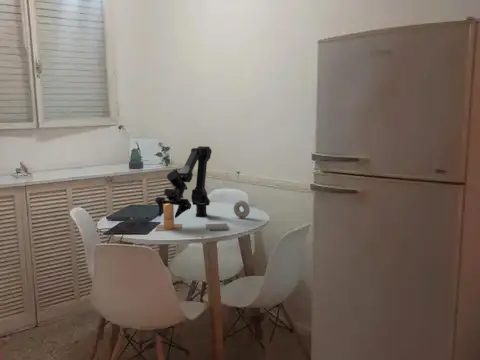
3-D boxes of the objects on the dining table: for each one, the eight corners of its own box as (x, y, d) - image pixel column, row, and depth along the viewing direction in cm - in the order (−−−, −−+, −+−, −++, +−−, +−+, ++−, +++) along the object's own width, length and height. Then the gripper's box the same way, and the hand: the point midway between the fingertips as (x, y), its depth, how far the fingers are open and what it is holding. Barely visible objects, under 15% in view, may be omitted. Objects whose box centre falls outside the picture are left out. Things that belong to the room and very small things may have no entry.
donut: (232, 217, 276) (232, 200, 274) (235, 216, 279) (235, 198, 277) (247, 219, 270) (247, 201, 269) (251, 218, 273) (250, 200, 272)
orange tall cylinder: (164, 226, 253) (163, 203, 251) (174, 226, 254) (173, 203, 252) (163, 228, 248) (163, 205, 246) (174, 228, 249) (173, 205, 247)
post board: (157, 226, 257) (156, 218, 256) (182, 225, 258) (182, 217, 257) (155, 233, 244) (155, 224, 243) (182, 232, 245) (181, 223, 245)
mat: (205, 226, 257) (205, 224, 257) (226, 225, 258) (226, 223, 258) (206, 231, 246) (206, 229, 246) (228, 230, 248) (228, 228, 247)
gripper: (156, 181, 255) (144, 206, 246) (187, 183, 247) (177, 209, 239) (165, 194, 263) (154, 218, 255) (195, 196, 256) (185, 221, 247)
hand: (167, 216), depth 249 cm, fingers open, 9 cm apart
